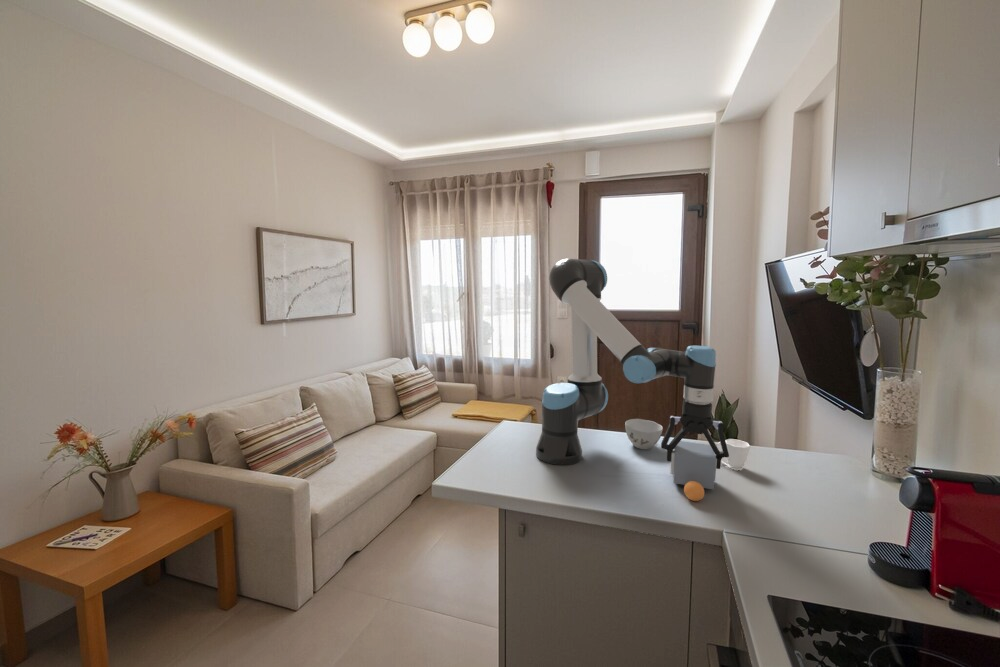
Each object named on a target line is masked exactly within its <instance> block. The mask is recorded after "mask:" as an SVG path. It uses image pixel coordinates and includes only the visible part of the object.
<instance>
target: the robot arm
mask: <svg viewBox="0 0 1000 667" xmlns="http://www.w3.org/2000/svg"><path fill="white" fill-rule="evenodd" d="M548 277H549V278H548V280H549V285H550V288H551V290H552V292H553V294H554V295H555V296H556V297H557V299H559V300H560V302H561V303H562V304H563V305H568V306H569V307H570V315H571V316H570V318H571V319H570V321H571V323H570V324H571V372H572V373H571V374H570V375H569V376H568V377H567V382H560V383H559V382H556V383H552V384H549V385H547V386H546V387H545V388H544V390H543V392H542V400H541V405H542V406H541V408H542V409H541V411H542V412H541V414H542V415H541V434H540V436H539V439H538V441H537V445H536V447H535V448H536V449H535V450H536V451H535V456H536V457H537V458H538V459H539V460H541V461H543V462H545V463H547V464H552V465H555V466H556V465H558V466H559V465H560V466H567V465H568V466H569V465H573V464H577V463H579V462H580V461H581V460H582V458H583V448H582V445H581V442H580V439H579V434H578V426H579V421H581V420H583V419H585V418H589V417H591V416H595V415H597V414H598V413H601V412H602V411H603V410H604V409H605V408H606V406H607V404H608V401H609V393H608V389H607V387H606V386H605V384H604V383H603V379H602V378H603V377H602V376H600V375H599V374H598V338H599V339H600V341H601V342H602V343H603V344H604V345H605V346H606V347H607V349H608V350H609V351H611V353H612V355H614V356H615V357H616V358H617V359H618V360H619V362H620V363H621V364H622V371H623V374H624V377H625V378H626V380H628V381H629V382H631V383H634V384H643V383H644V384H645V383H648V382H651V381H652V380H655V379H658V378H662V377H665V376H670V377H671V376H672V377H676V378H677V377H678V378H681V379H683V380H684V382H683V383H684V384H683V395H682V396H683V401H682V408H681V409H682V412H681V415H680V416H675V415H673V414H671V415H670V416H669V424H668V427H667V429H666V430H665V434H664V435H663V438H662V440H661V443H660V444H661V445H660V446H661V449H663V450H666V451H667V452H666V461H667V462H669V463H670V464H669V465H670V467H669V468H670V469H669V470H670V472H669V473H670V475H673V470H674V455H675V452H674V448H675V447H676V445H677V444H678V443H679V442H680V441H682V439H683V438H684V437H685V436H686V435H687V434H688V433H689V434H697V435H702V434H703V436H704V437H705V438H706V440H707V442H708V443H709V444H708V445H710V446H711V447H712V449H713V451H714V453H715V457H716V468H715V477H717V475H716V474H717V470H720V469H721V467H722V466H721V464H722V463H721V460H722V459H724V458H726V459H727V457H729V453H728V449H727V446H726V442H725V440H726V438H725V435H724V427H725V426H724V423H723V421H722V420H713V418H712V414H713V412H712V411H713V410H712V409H713V403H712V402H713V401H714V400H713V399H714V386H715V385H714V384H715V376H716V375H715V374H716V367H717V358H716V356H717V352H716V350H715V348H714V347H710V346H706V345H696V344H695V345H688V346H687V347H686V350H685V351H681V350H674V349H667V348H662V347H649V348H647V349H646V348H645V346H644V345H643V344H642V343H641V342H639V340H638V339H636V337H635V336H634V335H633V334H632V333H631V332H630V331H629V330H628V329H627V328H626V326H624V325H623V324H622V322H620V321H619V319H617V318H616V316H614V314H613V313H612V312H611V311H610V310H609V309H608V308H607V307H606V306H605V305H604V304H603V303H602V302H601V300H602V292H603V290H604V289H605V288H606V286H607V283H608V274H607V271H606V269H605V267H604V266H603V265H602V264H601V263H600V262H598V261H596V260H592V259H590V258H589V259H586V258H584V259H583V258H564V259H560V260H557V261H556V263H554V265H553V266H552V268H551V269H550V271H549V276H548ZM679 422H680V423H681V424H682V427H681V428H680V430H679V431H678V432H677V434H676V435H675V436H674V437H673V439H672V440H671V441H670V438H671V437H672V433H673V431H674V429H675V427H676V425H678V424H679ZM712 426H713V427H714V429H715V430H716V431H717V435H718V439H719V442H720V443H721V444H720V445H721V451H720V450H719V447H718V446H717V445H716V444H717V443H716V442H715V441H714V439H713V437H712V436H711V434H710V431H709V429H710V428H711V427H712ZM669 441H670V442H669ZM668 443H669V444H668ZM714 482H716V479H715V480H714Z"/></svg>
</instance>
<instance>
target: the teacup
mask: <svg viewBox="0 0 1000 667" xmlns="http://www.w3.org/2000/svg"><path fill="white" fill-rule="evenodd" d="M624 423H625V424H624V426H625V427H624V428H625V432H626V435H627V438H628V440H629V442H631V443H632V445H633V446H634V448H636V449H641V450H651V448H652V447H654V446H655V445H656V444H657V443H658V442H659V440H660V439H661V436H662V434H663V426H662V425H661V424H659V423H658V422H656V421H653V420H647V419H642V418H630V419H628V420H626V421H625V422H624Z"/></svg>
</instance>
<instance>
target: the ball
mask: <svg viewBox="0 0 1000 667" xmlns="http://www.w3.org/2000/svg"><path fill="white" fill-rule="evenodd" d="M683 486H684V487H683V493H684V495H685V497H686V498H687V499H688V500H690V501H693V502H698V501H701V500H702V499H703V498H705V497H704V496H705V488H703V486H702V485H701V484H700V483H698V482H696V481H690V482H688V483H686V485H683Z"/></svg>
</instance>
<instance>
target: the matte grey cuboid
mask: <svg viewBox="0 0 1000 667" xmlns="http://www.w3.org/2000/svg"><path fill="white" fill-rule="evenodd" d="M674 452H675V455H674V470H673V474H672V482H673V484H678V485H683V486H685V485H686V483H688V482H690V481H696V482H698V483H700V484H701V485H702V486H703V488H704V489H710V490H715V481H716V476H715V468H716V457H715V454H714V451H713V449H712V447H711V446H710V444H707V443H706V444H705V443H700V442H690V441H684V440H681V441H680V442H679V443H678V444H677V445H676V447H675V448H674ZM714 480H715V481H714Z"/></svg>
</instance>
